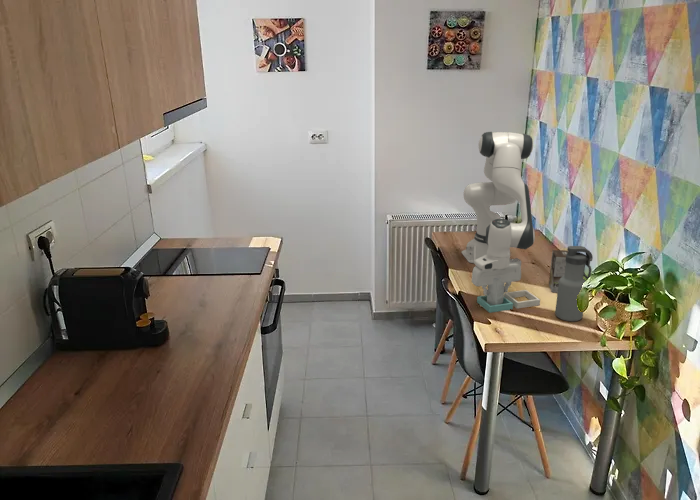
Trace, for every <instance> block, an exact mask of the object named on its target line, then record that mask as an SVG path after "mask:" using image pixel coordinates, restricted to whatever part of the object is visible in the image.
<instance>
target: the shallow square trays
mask: <svg viewBox="0 0 700 500" xmlns="http://www.w3.org/2000/svg"><path fill="white" fill-rule="evenodd" d="M521 297H523V298H524V297H525V298H527V299H528V300H522V301H518V300H517V299H515V298H521ZM476 303H478V304H479V305H480V306H481V307H482V308H483V309H484V310H486V311H487V312H488V313H497V312H504V311H510V309H511V310H513V309H514V308H515V309H517V310H518V309H523V308H529V307H530V308H531V307H537V306H540V304H541V299H540V298H538V297H537V296H536V295H535V294H533V293H532V292H530V291H529V290H527V289H521V290H516V291H508V292H504V298H503V303H502V304H500V305H493V306H490V305H489V304H488V303H487V295H479V296H476Z"/></svg>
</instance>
